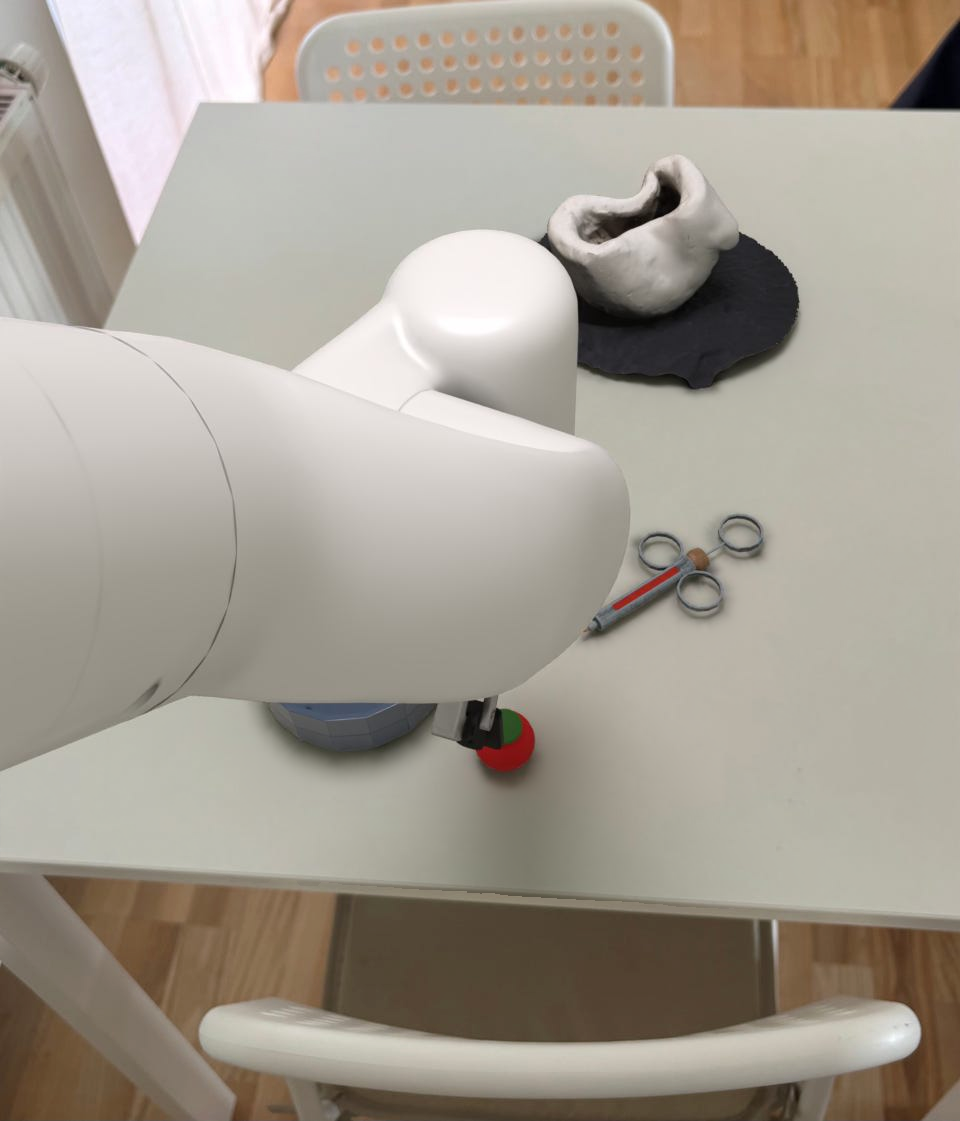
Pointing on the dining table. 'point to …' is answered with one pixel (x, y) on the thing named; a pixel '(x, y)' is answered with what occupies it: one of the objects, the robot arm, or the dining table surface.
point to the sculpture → (669, 278)
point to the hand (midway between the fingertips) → (502, 666)
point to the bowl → (349, 722)
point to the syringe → (669, 577)
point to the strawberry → (511, 744)
